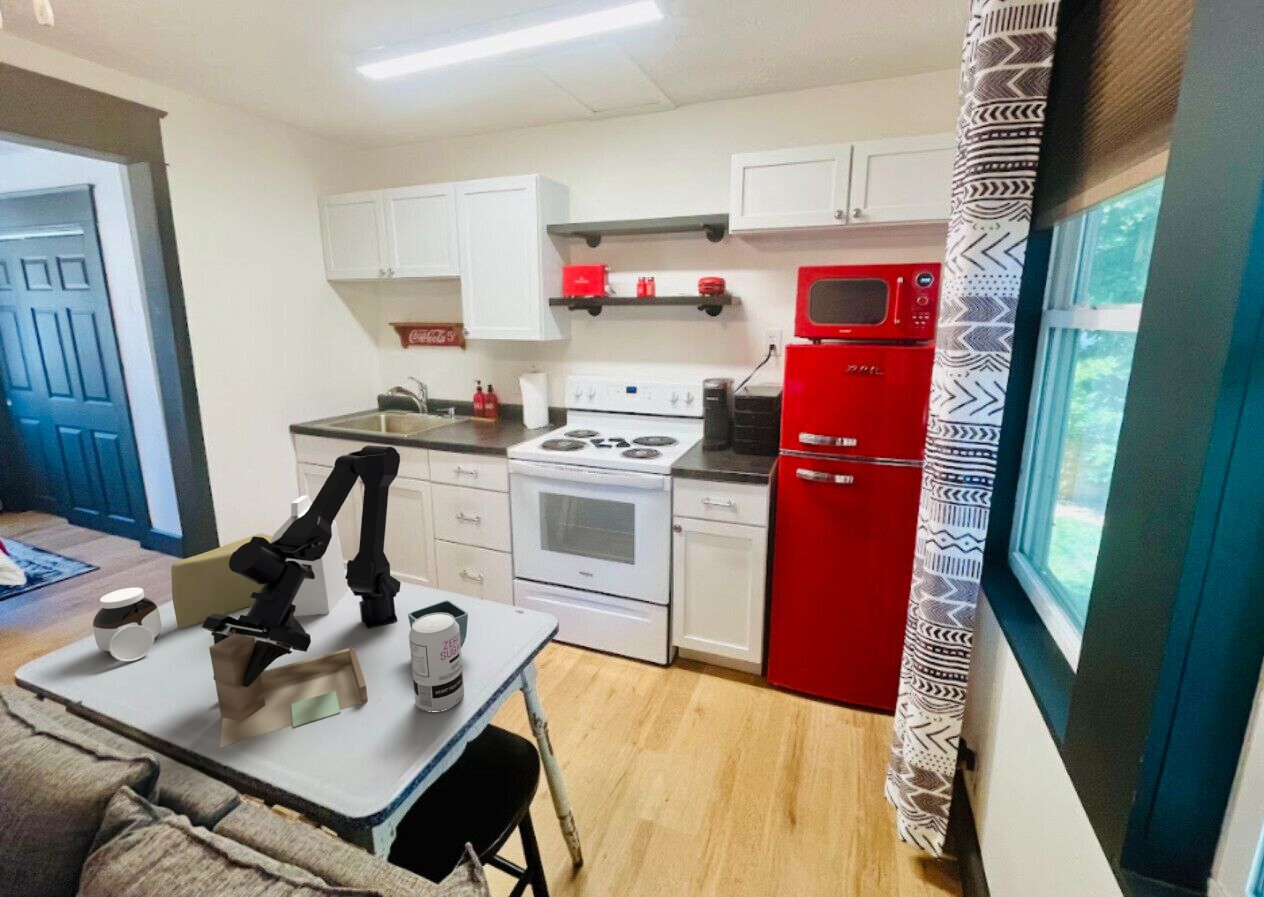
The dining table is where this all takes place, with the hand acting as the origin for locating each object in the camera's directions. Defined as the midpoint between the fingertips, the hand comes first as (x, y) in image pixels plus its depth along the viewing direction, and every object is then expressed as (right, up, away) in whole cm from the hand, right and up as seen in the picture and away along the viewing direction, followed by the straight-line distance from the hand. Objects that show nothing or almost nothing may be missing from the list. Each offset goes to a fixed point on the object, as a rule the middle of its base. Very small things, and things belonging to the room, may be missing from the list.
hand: (230, 683), depth 99 cm
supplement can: (+33, -5, +6) cm, 34 cm away
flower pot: (+29, -2, +20) cm, 35 cm away
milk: (-9, +2, +43) cm, 43 cm away
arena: (+8, -5, +6) cm, 11 cm away
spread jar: (-35, -2, +23) cm, 42 cm away
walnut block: (0, -6, +3) cm, 6 cm away
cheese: (-27, +1, +41) cm, 49 cm away
